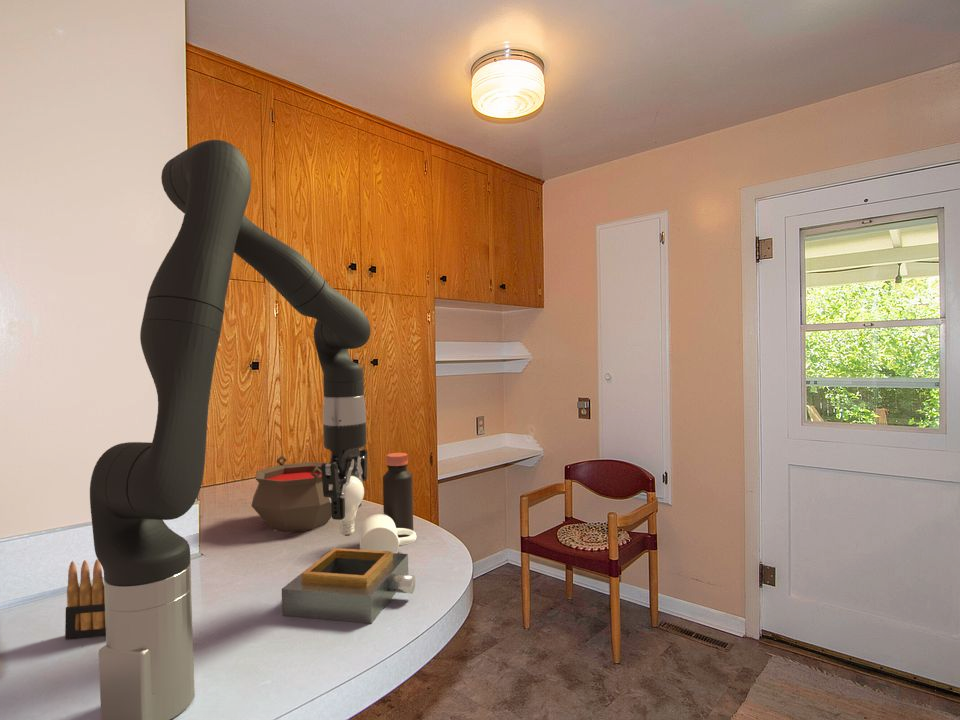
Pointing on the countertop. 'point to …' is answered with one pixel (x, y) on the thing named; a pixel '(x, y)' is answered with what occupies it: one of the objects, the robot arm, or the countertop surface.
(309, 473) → the brown cauldron
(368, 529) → the mug
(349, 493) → the lightbulb
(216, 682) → the countertop surface
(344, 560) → the grey shallow box
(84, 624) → the ammunition clip
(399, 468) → the bottle
